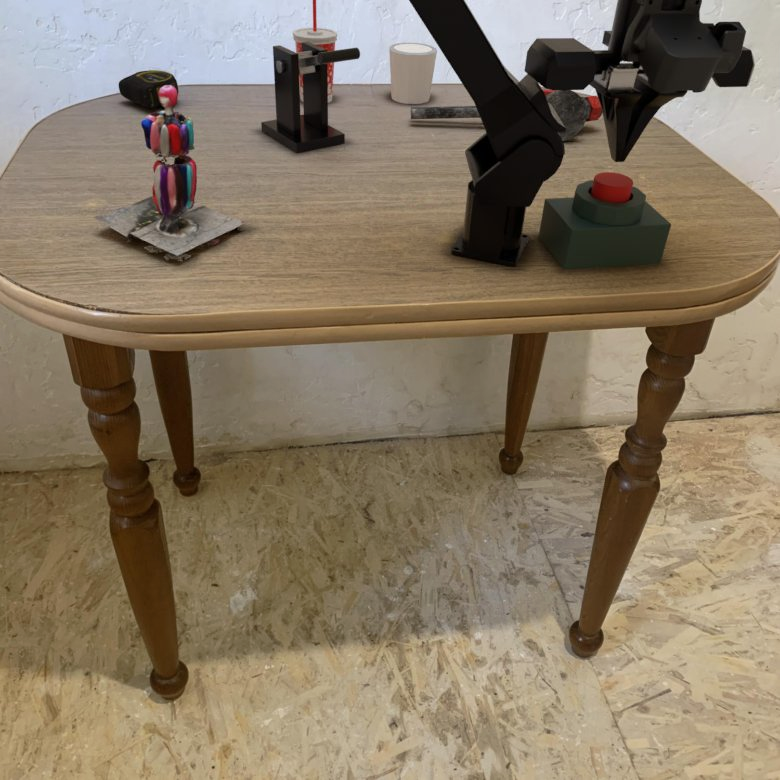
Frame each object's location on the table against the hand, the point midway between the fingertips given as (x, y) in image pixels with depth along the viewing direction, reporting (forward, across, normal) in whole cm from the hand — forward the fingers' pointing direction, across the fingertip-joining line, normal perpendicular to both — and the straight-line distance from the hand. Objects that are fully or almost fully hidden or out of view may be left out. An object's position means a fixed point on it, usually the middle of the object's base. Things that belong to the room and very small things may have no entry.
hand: (617, 160), depth 71 cm
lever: (0, -24, +31) cm, 39 cm away
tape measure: (+10, -45, +49) cm, 67 cm away
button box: (+9, 0, 0) cm, 9 cm away
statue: (+10, -41, +9) cm, 43 cm away
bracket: (+9, -25, +35) cm, 44 cm away
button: (+4, 0, 0) cm, 4 cm away
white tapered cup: (+9, -8, +50) cm, 51 cm away
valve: (+9, +3, +38) cm, 40 cm away
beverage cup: (+10, -22, +50) cm, 55 cm away
